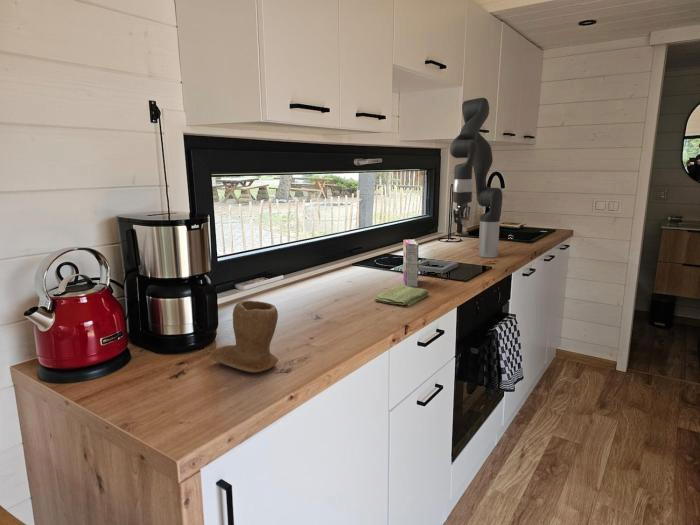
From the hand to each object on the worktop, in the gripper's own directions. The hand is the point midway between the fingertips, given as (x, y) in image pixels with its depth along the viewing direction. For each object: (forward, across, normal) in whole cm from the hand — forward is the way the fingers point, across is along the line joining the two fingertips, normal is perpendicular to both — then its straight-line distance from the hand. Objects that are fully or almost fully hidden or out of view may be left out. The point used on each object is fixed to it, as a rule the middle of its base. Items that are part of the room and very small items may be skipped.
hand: (461, 232), depth 198 cm
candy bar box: (+17, +28, -10) cm, 34 cm away
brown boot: (+17, +114, -10) cm, 116 cm away
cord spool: (+1, 0, 0) cm, 1 cm away
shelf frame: (+17, -2, -12) cm, 21 cm away
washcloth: (+18, +47, -3) cm, 51 cm away
